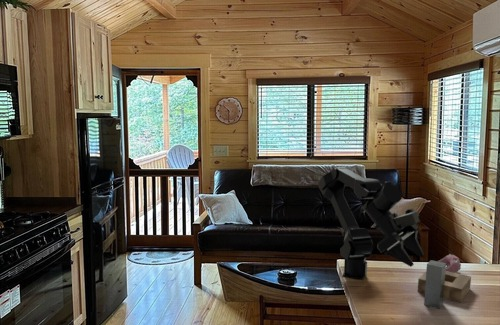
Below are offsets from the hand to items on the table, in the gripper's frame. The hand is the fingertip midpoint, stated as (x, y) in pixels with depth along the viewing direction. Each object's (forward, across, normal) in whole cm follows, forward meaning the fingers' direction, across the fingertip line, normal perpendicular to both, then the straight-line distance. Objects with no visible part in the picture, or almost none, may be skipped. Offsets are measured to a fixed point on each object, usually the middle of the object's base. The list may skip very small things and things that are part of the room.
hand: (417, 261), depth 125 cm
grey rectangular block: (+12, 0, +5) cm, 13 cm away
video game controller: (+10, +29, +7) cm, 31 cm away
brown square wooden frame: (+11, +12, +5) cm, 18 cm away
